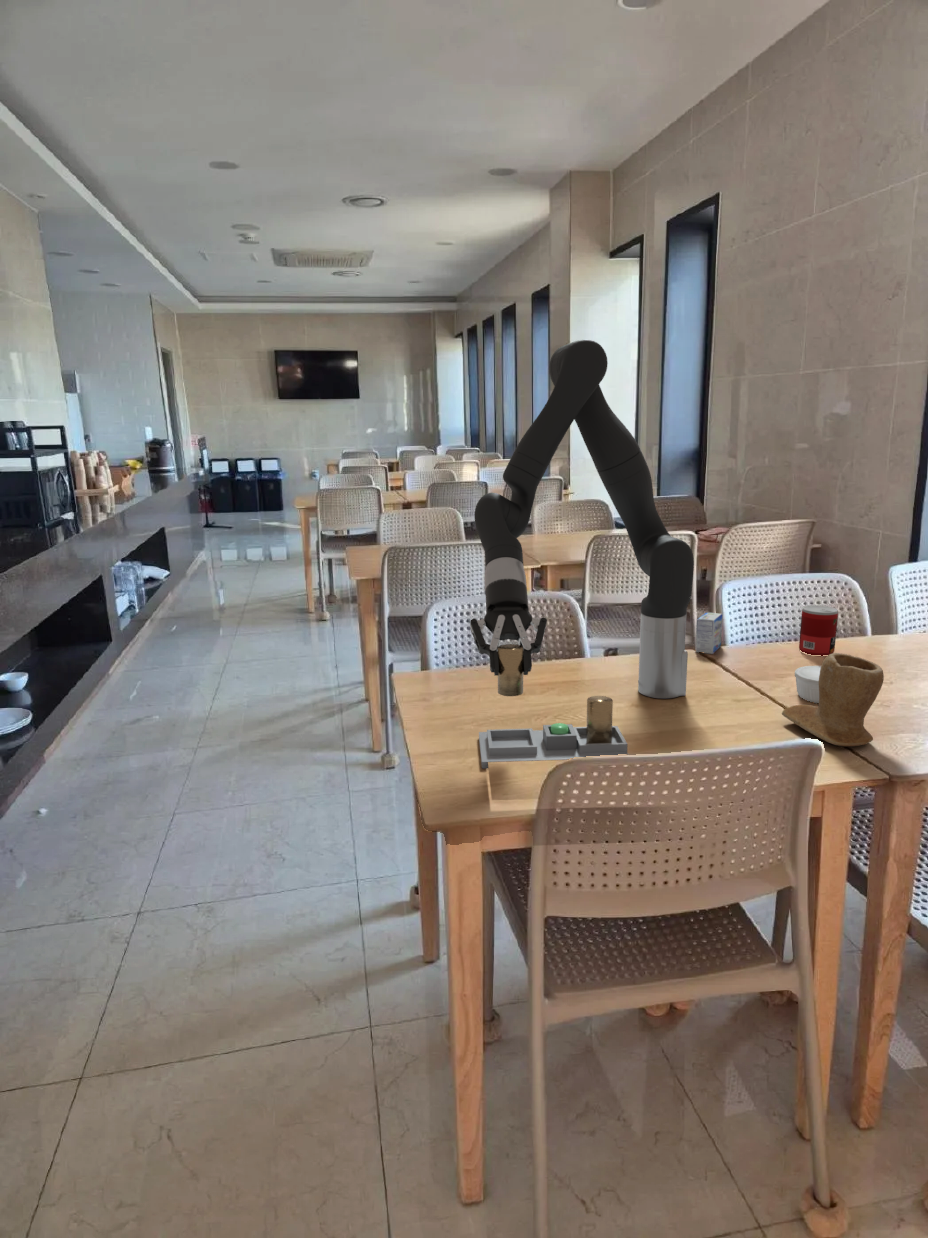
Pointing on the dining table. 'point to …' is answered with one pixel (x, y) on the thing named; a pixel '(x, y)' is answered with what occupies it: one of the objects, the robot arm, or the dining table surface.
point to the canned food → (818, 630)
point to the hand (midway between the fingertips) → (511, 672)
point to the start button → (559, 728)
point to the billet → (510, 670)
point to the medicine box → (708, 633)
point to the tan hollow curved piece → (841, 701)
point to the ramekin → (808, 682)
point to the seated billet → (599, 720)
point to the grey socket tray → (544, 745)
